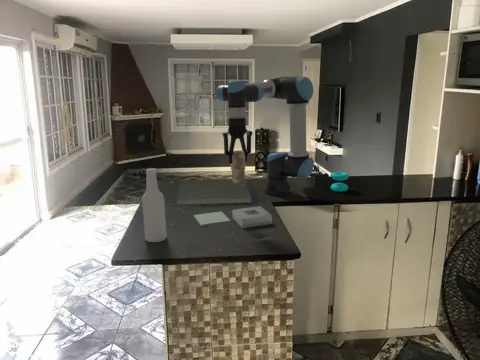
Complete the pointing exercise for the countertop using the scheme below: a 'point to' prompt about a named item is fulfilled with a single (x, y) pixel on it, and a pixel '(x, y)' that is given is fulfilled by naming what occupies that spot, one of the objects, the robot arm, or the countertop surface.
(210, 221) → the pad
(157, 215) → the alcohol
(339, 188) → the donuts
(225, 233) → the countertop surface
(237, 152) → the square peg
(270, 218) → the hole block
